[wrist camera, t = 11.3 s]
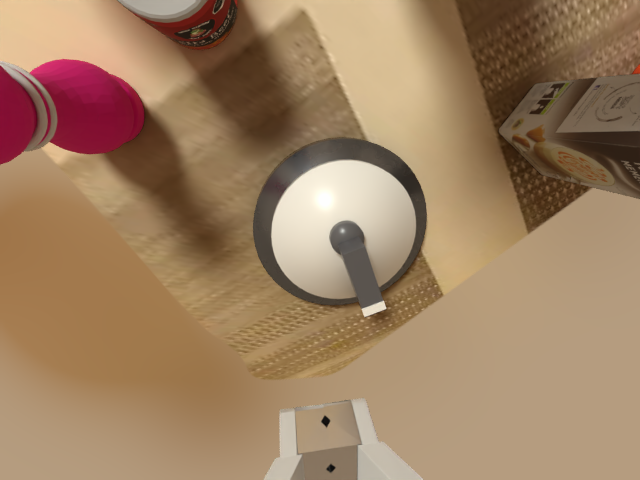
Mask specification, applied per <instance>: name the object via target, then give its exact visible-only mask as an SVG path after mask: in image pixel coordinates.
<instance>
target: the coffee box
mask: <svg viewBox="0 0 640 480" xmlns="http://www.w3.org/2000/svg"><path fill="white" fill-rule="evenodd" d="M499 133H500V134H501V135H502V136H503V137H504V138H505V139H506V140H507V141H508V142H509V143H510V144H511V145H512V146H513V147H514V148H515V149H516V150H517V151H518V152H519V153H520V154H521V155H522V156H523V157H524V158H525V159H526V160H527V161H528V162H529V163H530V164H531V165H532V166H533V167H534V168H535V169H536V170H537V171H538V172H539V173H540V174H542V175H544V176H548V177H552V178H556V179H560V180H564V181H569V182H573V183H577V184H581V185H585V186H589V187H593V188H597V189H601V190H606V191H609V192H613V193H618V194H622V195H625V196H630V197H634V198H638V199H640V74H631V75H619V76H608V77H599V78H589V79H578V80H567V81H557V82H546V83H537V84H535V85H534V86H533V87H532V89H531V90H530V91H529V92H528V94H527V95H526V96H525V97H524V98H523V100H522V101H521V102H520V103H519V105H518V106H517V107H516V108H515V110H514V111H513V112H512V113H511V115H510V116H509V117H508V118H507V120H506V121H505V122H504V124H503V125H502V126H501V127H500V129H499Z"/></svg>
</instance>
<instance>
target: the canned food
mask: <svg viewBox="0 0 640 480" xmlns="http://www.w3.org/2000/svg"><path fill="white" fill-rule="evenodd" d="M117 1H118V2H119V3H121V4H122V5H123V6H124V7H126V8H127V9H128V10H129V11H131V12H132V13H133V14H135V15H136V16H137V17H139V18H140V19H142V20H143V21H145V22H146V23H148V24H149V25H151V26H152V27H154V28H155V29H157V30H158V31H160V32H161V33H163V34H164V35H166V36H167V37H169V38H170V39H172V40H173V41H175V42H176V43H178V44H180V45H182V46H184V47H187V48H190V49H197V50H203V49H209V48H212V47H214V46H216V45H218V44H219V43H221V42H222V41H223V40H224V39H225V38H226V37H227V36H228V35H229V33H230V31H231V29H232V28H233V25H234V22H235V19H236V13H237V0H117Z"/></svg>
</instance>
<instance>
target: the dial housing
mask: <svg viewBox="0 0 640 480" xmlns="http://www.w3.org/2000/svg"><path fill="white" fill-rule="evenodd" d="M339 159H352V160H360V161H364V162H368V163H370V164H373V165H375V166H377V167H379V168H381V169H383V170H385V171H386V172H388V173H390V174H391V175H392V176H393V177H395V178H396V179H397V180H398V181H399V182H400V183H401V184H402V186H403V187H404V188H405V190H406V191H407V193H408V195H409V197H410V199H411V201H412V204H413V207H414V210H415V216H416V233H415V239H414V243H413V246H412V249H411V251H410V254H409V256H408V258H407V259H406V261H405V263H404V264H403V266H402V267H401V268H400V270H399V271H398V272H397V273H396V274H395V275H394V276H393V277H392V278H391V279H390V280H389V281H387V282H386V283H385V284H383V285H382V286H380V287H379V290H380V293H381V292H382V291H384V290H385V289H387V288H388V287H390V286H391V285H392V284H393V283H395V282H396V281H397V280H398V279H399V278H400V277H401V276H402V275H403V274H404V273H405V272H406V270H407V269H408V268H409V267H410V265H411V264H412V262H413V261H414V259H415V257H416V256H417V254H418V251H419V249H420V247H421V244H422V241H423V238H424V234H425V229H426V219H427V213H426V203H425V198H424V194H423V191H422V189H421V186H420V183H419V182H418V180H417V178H416V176H415V174H414V173H413V172H412V170H411V169H410V168H409V167H408V165H407V164H406V163H405V162H404V161H403V160H402V159H401V158H399V157H398V156H397V155H395V154H394V153H392V152H391V151H389V150H388V149H386V148H384V147H382V146H380V145H377V144H374V143H371V142H368V141H365V140H361V139H355V138H344V137H339V138H328V139H324V140H320V141H316V142H313V143H311V144H308V145H305V146H303V147H302V148H300V149H298V150H296V151H294V152H293V153H292V154H290V155H289V156H288V157H286V158H285V159H284V160H283V161H282V162H281V163H280V164H279V165H278V166H277V167H276V168H275V169H274V170H273V172H272V173H271V174H270V175H269V177H268V178H267V180H266V182H265V184H264V185H263V187H262V190H261V192H260V194H259V197H258V201H257V205H256V208H255V213H254V222H253V236H254V242H255V247H256V250H257V253H258V256H259V258H260V261H261V263H262V265H263V267H264V268H265V269H266V271H267V272H268V274H269V275H270V276H271V277H272V279H273V280H274V281H275V282H276V283H277V284H278V285H280V286H281V287H282V288H283V289H284V290H286V291H287V292H289V293H291V294H292V295H294V296H296V297H298V298H300V299H303V300H306V301H309V302H312V303H317V304H324V305H344V304H351V303H355V302H358V300H357V297H352V298H345V299H331V298H324V297H320V296H316V295H313V294H311V293H308V292H306V291H304V290H303V289H301V288H299V287H298V286H297V285H295V284H294V283H293V282H292V281H291V280H290V279H289V278H288V277H287V276H286V275H285V274H284V272H283V271H282V270H281V268H280V266H279V264H278V263H277V260H276V258H275V255H274V251H273V247H272V238H271V233H272V220H273V215H274V212H275V209H276V206H277V203H278V201H279V200H280V198H281V196H282V194H283V193H284V191H285V190H286V188H287V187H288V186H289V185H290V184H291V183H292V182H293V181H294V180H295V179H296V178H297V177H298V176H300V175H301V174H302V173H304V172H305V171H307V170H308V169H310V168H312V167H314V166H316V165H319V164H321V163H325V162H328V161H333V160H339Z"/></svg>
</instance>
